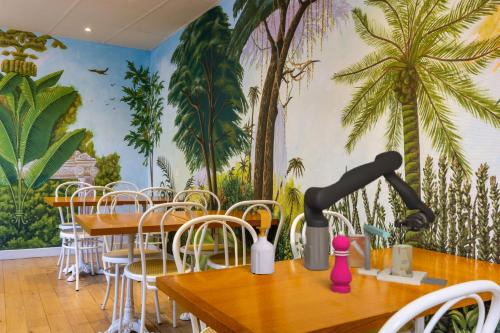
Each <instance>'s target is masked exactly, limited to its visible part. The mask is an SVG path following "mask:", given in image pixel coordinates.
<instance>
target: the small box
mask: <svg viewBox="0 0 500 333" xmlns="http://www.w3.org/2000/svg"><path fill="white" fill-rule="evenodd" d="M347 238H348V239H349V241H350V247H349V248H348V251H349V252H348V254H349V255H347V263H348V267H349V268H361V267H362V268H365V233H362V234H361V233H360V234H359V233H347Z"/></svg>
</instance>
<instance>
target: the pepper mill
mask: <svg viewBox="0 0 500 333" xmlns="http://www.w3.org/2000/svg"><path fill="white" fill-rule="evenodd" d="M344 234H345V232H343V230H339V231H338V235H337V236H334V237H333V238H332V241H331V246H332V248H333V255H334V264H333V267H332V269H331V271H330V275H329V280H330V281H331V283H332V284H331V291H332V292H333V291H334V292H333V293H336V292H339V293H338V294H347V293H348V294H349V293H350V292H351V288H352V286H351V285H350V283H351V282H352V281H353V275H352V271H351V270H350V267H349V266H348V262H347V255H349V254H348V252H349V251H348V248H349V247H350V241H349V239H348V236H345V235H344Z"/></svg>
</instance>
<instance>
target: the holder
mask: <svg viewBox="0 0 500 333" xmlns="http://www.w3.org/2000/svg"><path fill="white" fill-rule="evenodd" d="M364 234H365V268H364V267H359V268H358V270H357V274H360V275H366V276H374V277H376V280H377V281H384V282H391V283H399V284H406V285H412V286H414V285H415V286H421V284H423V281H424V280H425V279H426V277H428V272H427V271H419V270H412V278H409V277H401V276H393V275H392V267H386V268H384V269H383V270H382V271H381V270H380V269H378V268H377V269H376V268H372V267H371V266H372V265H371V255H372V254H371V253H372V252H371V251H372V250H371V246H372V243H371V241H372V240H371V238H372V236H371V235H372V234H371V232H369V231H367V230H364Z"/></svg>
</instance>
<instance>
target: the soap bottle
mask: <svg viewBox="0 0 500 333" xmlns="http://www.w3.org/2000/svg"><path fill="white" fill-rule="evenodd" d="M256 213H258V214H259V216H260V226H255V228H256V229H258V231H260V233H258V235H257V237H258V239H257V241H255V242H254V243H253V244H251V246H250V273H251V274H253V273H255V274H254V275H257V274H269V275H272V274H274V272H275V247H274V244H272V243H271V242H270V241H268V239H267V238H268V235H267V234H265V232H266V231H267V230H268V229H271V213H270V212H269V211H268V210H266V209H257V210H256Z"/></svg>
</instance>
